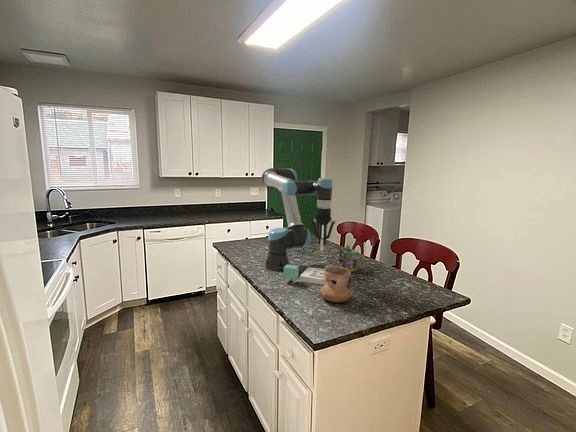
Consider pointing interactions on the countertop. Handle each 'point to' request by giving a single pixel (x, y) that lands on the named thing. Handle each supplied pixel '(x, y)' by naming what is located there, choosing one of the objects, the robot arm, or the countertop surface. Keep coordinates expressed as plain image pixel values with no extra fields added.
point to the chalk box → (349, 259)
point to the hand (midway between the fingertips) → (321, 250)
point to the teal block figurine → (290, 273)
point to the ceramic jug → (336, 284)
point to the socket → (313, 276)
